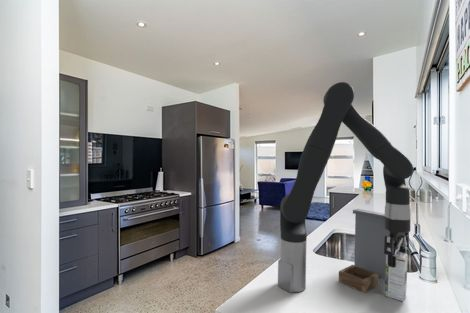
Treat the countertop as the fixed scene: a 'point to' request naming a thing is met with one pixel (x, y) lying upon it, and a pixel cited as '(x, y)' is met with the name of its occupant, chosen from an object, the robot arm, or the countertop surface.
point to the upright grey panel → (370, 241)
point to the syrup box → (396, 277)
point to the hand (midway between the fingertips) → (396, 263)
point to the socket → (358, 278)
